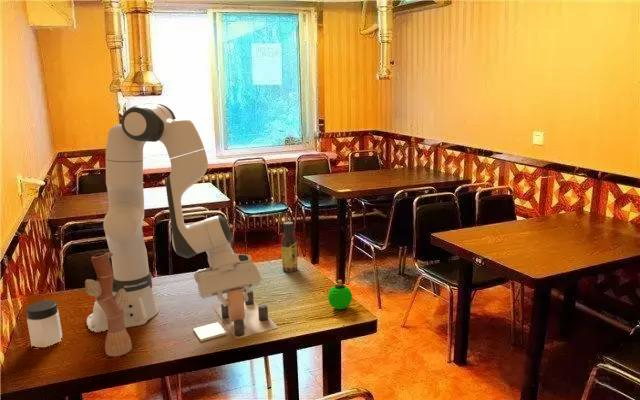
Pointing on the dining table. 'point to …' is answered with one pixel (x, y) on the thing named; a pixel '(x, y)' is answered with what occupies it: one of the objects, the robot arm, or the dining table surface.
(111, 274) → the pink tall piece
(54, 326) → the jar
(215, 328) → the mat
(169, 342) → the dining table surface
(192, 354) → the dining table surface
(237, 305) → the tan cylinder block
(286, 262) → the sauce bottle
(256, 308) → the post board
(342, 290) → the ornament
